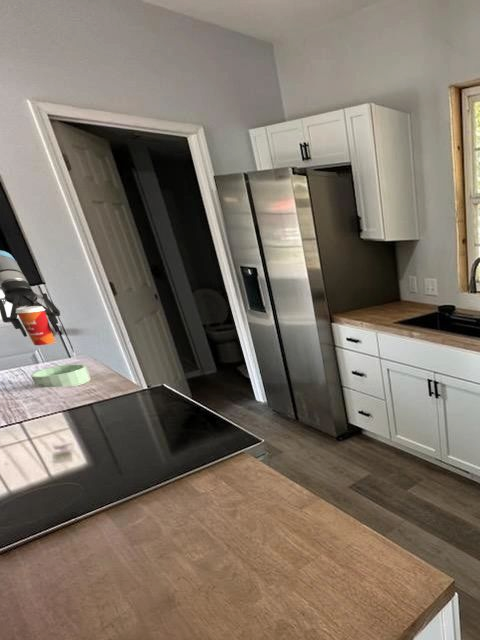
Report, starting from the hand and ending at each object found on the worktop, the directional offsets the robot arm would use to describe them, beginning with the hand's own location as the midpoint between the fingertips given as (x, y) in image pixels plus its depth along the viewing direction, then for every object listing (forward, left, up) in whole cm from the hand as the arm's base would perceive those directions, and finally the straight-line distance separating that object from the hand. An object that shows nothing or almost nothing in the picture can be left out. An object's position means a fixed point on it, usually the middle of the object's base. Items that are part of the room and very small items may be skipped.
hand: (41, 332), depth 156 cm
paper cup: (-3, +2, -5) cm, 6 cm away
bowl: (+8, -8, -18) cm, 22 cm away
